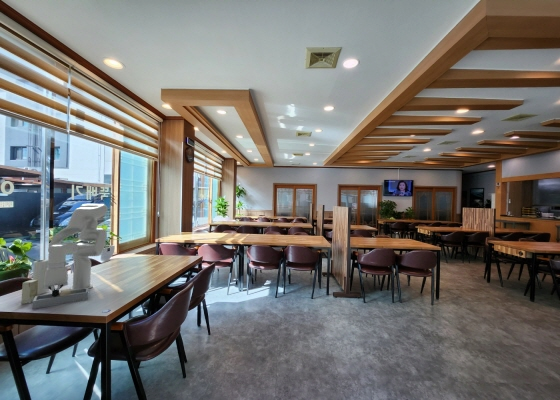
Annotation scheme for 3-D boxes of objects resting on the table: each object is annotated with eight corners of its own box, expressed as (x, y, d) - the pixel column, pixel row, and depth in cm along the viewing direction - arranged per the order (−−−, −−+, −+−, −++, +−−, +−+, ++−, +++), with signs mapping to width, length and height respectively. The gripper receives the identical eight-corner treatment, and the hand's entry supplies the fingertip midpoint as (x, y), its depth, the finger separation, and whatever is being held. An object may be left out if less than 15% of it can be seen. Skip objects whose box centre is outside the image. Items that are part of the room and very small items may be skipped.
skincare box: (30, 303, 141) (31, 282, 141) (20, 304, 140) (21, 282, 140) (37, 299, 147) (38, 279, 147) (28, 300, 146) (29, 279, 146)
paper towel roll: (30, 296, 152) (32, 262, 153) (33, 293, 157) (35, 260, 158) (46, 294, 156) (47, 260, 157) (48, 291, 161) (50, 259, 162)
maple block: (60, 296, 145) (60, 289, 146) (70, 295, 148) (70, 288, 148) (60, 298, 142) (60, 292, 142) (70, 297, 145) (70, 290, 145)
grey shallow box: (35, 303, 141) (35, 295, 141) (87, 294, 156) (87, 287, 156) (32, 309, 133) (32, 301, 133) (87, 299, 148) (88, 291, 148)
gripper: (73, 262, 151) (72, 292, 150) (40, 266, 141) (38, 297, 141) (73, 265, 145) (71, 295, 144) (38, 268, 136) (36, 301, 135)
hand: (55, 296), depth 142 cm, fingers closed
